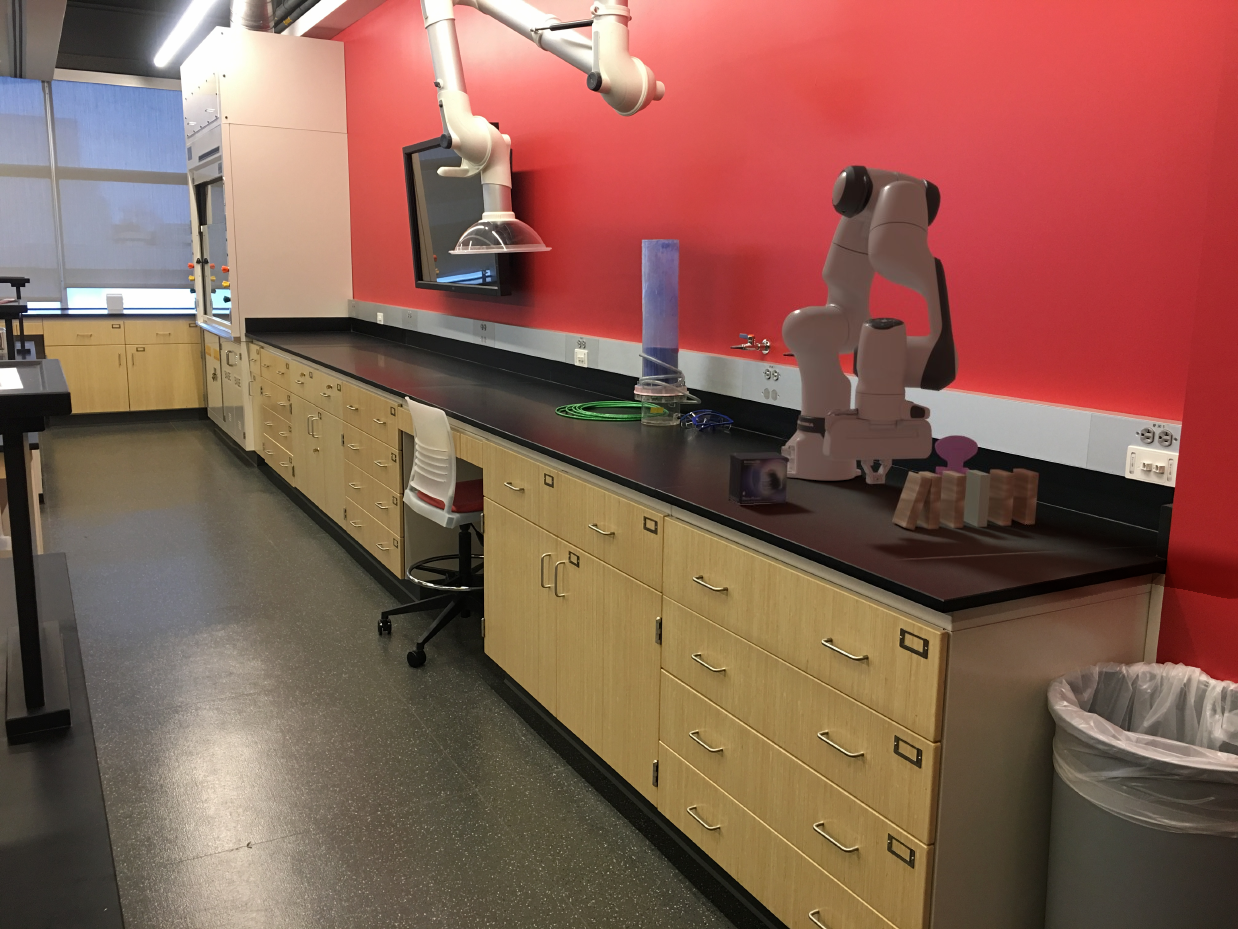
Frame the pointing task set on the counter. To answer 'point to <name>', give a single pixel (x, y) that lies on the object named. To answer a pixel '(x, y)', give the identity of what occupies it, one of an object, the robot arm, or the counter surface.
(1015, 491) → the domino
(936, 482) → the domino
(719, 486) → the counter surface
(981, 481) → the domino
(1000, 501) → the domino
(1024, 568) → the counter surface
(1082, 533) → the counter surface
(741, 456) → the small box
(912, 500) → the domino
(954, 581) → the counter surface
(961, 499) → the domino
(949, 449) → the toy chair
